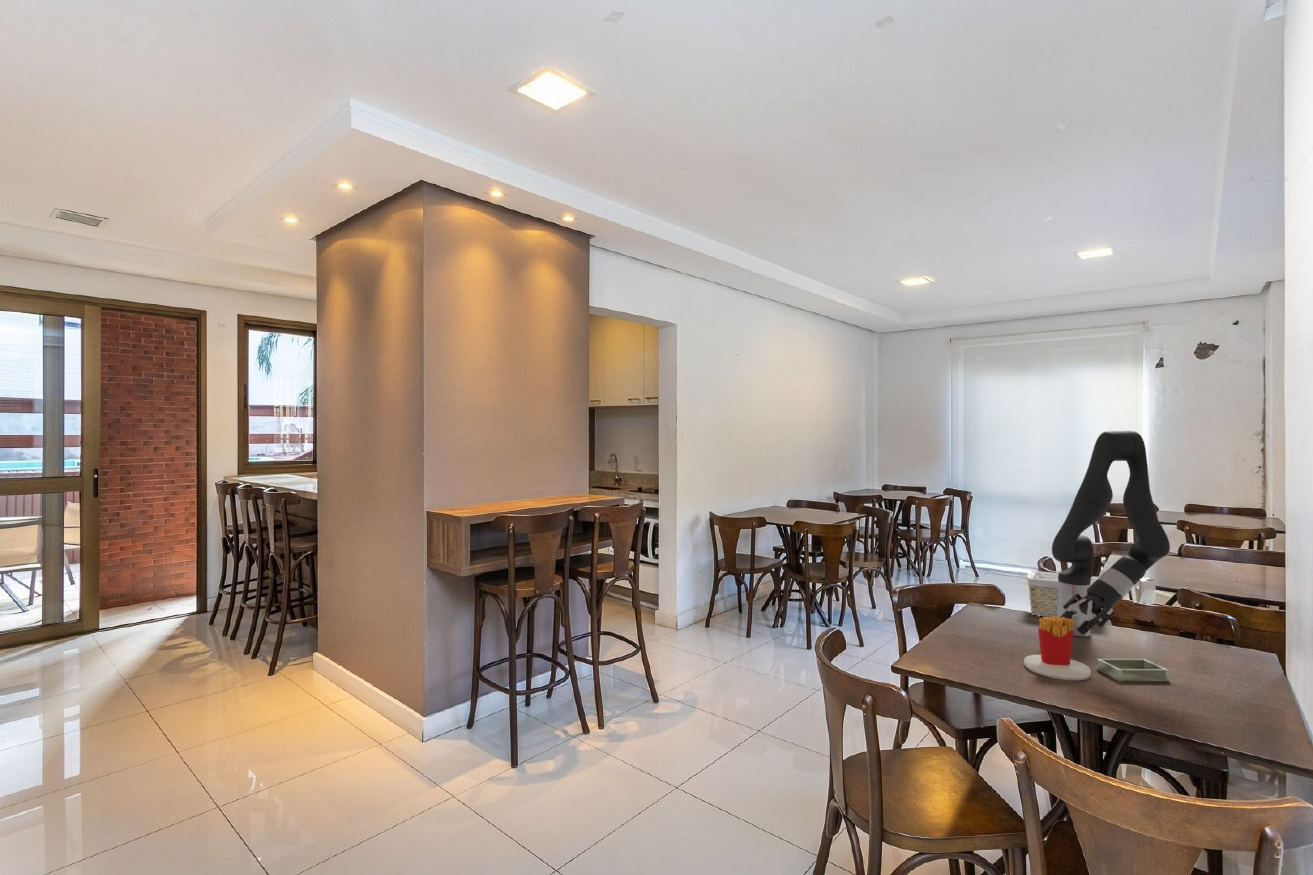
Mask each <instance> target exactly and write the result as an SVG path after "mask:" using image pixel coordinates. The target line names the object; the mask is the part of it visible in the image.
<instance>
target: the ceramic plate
mask: <svg viewBox="0 0 1313 875" xmlns="http://www.w3.org/2000/svg"><path fill="white" fill-rule="evenodd" d="M1023 661H1024V665H1023V666H1024V667H1025V668H1026V669H1027V668H1028V669H1027V670H1029V671H1030V672H1032V673H1035V674H1036V675H1037V674H1038V675H1040V676H1044V677H1047V678H1052V679H1056V680H1064V681H1084V680H1085V681H1086V680H1088V679H1090V677H1091V673H1092V671H1091V667H1089V666H1088V665H1086V664H1085V663H1082V662H1080V661H1078V660H1074V659H1072V658H1071V660H1070V664H1069V665H1050V664H1046V663H1044V662H1043V661H1042V659H1041V654H1031V655H1027V656H1025V657H1024V659H1023Z"/></svg>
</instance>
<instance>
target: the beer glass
mask: <svg viewBox="0 0 1313 875" xmlns="http://www.w3.org/2000/svg"><path fill="white" fill-rule="evenodd" d="M1155 582H1156V580H1155V579H1153V578H1149V577H1142V578H1141V579H1140V580H1139V581H1138V582H1137V583H1136V584H1135V585H1134V586H1133V587H1132V589H1131V590H1130V592H1131V598H1132V602H1134V603H1143V604H1154V605H1155V602H1156V592H1157V591H1156V583H1155ZM1134 603H1133V604H1134Z"/></svg>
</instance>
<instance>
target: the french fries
mask: <svg viewBox="0 0 1313 875" xmlns="http://www.w3.org/2000/svg"><path fill="white" fill-rule="evenodd" d="M1038 620H1039V626H1040V627H1038V638H1039V639H1038V640H1039V649H1040V650H1039V651H1040V655H1041V659H1042V661H1043V662H1044V663H1046V664H1050V665H1069V664H1070V660H1071V659H1072V650H1073V649H1072V648H1073V638H1074V636H1073V631H1072V630H1073V627H1074V624H1075V622H1074V621H1073V620H1072V621H1071V619H1067V618H1064V617H1062V618H1061V619H1060V618H1059V617H1058V616H1056V617H1055V616H1052V618H1049V617H1042V618H1039V619H1038Z"/></svg>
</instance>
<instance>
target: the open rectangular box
mask: <svg viewBox="0 0 1313 875" xmlns="http://www.w3.org/2000/svg"><path fill="white" fill-rule="evenodd" d="M1096 670H1098V671H1099V672H1101V673H1103V674H1105V675H1107V676H1109V677H1110V678H1112V679H1114V680H1116V681H1118V682H1170V670H1169V669H1167V668H1165V667H1164V666H1161V665H1158V664H1156V663H1154V662H1152V661H1149V660H1148V659H1145V658H1096Z"/></svg>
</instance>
